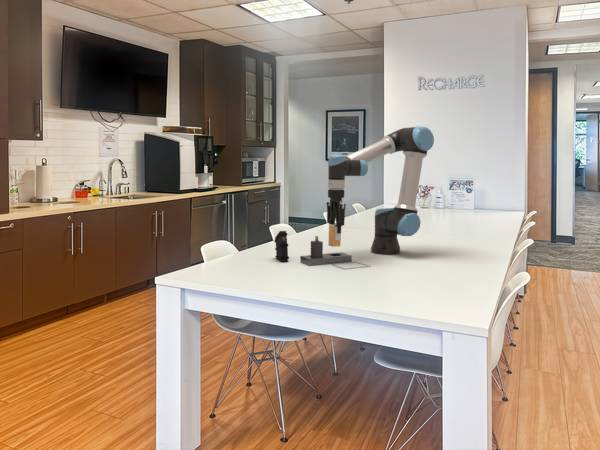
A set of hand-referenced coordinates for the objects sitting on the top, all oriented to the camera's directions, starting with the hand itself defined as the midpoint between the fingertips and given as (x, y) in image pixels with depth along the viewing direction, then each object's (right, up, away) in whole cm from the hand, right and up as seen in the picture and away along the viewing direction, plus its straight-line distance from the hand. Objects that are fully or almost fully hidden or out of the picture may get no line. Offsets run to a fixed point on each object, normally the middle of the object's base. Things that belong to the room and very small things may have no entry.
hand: (335, 239), depth 240 cm
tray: (+6, -12, -8) cm, 16 cm away
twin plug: (-9, -11, -3) cm, 14 cm away
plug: (0, -3, 0) cm, 3 cm away
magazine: (-25, -11, +5) cm, 28 cm away
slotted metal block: (-4, -11, -1) cm, 12 cm away
